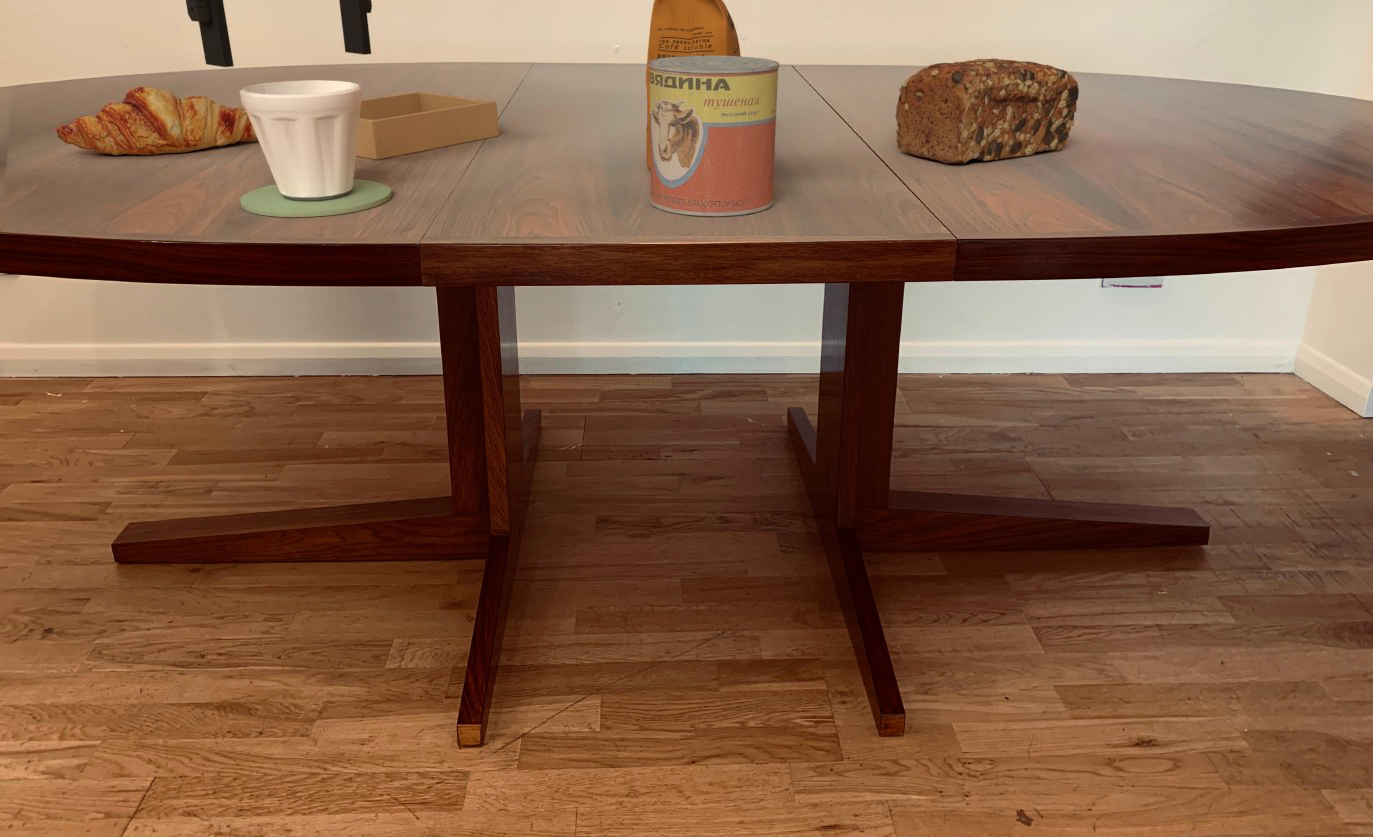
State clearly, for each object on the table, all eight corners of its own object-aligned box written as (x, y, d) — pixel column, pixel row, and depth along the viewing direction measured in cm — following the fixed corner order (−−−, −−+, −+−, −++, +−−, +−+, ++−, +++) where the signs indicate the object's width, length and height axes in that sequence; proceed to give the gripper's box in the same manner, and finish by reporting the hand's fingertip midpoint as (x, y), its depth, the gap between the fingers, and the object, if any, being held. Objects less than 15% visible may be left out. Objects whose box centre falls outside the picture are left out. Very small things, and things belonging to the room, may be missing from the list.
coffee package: (751, 154, 112) (758, -66, 102) (729, 178, 101) (735, -66, 91) (664, 150, 114) (663, -67, 104) (633, 172, 103) (629, -67, 94)
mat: (210, 202, 90) (209, 197, 90) (332, 177, 100) (332, 172, 100) (299, 225, 84) (298, 219, 83) (421, 196, 93) (420, 190, 93)
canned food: (623, 201, 92) (621, 62, 86) (704, 182, 99) (706, 52, 94) (719, 223, 85) (722, 73, 80) (798, 200, 93) (805, 62, 87)
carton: (299, 145, 115) (293, 109, 114) (422, 124, 129) (419, 91, 127) (376, 159, 108) (372, 121, 106) (499, 135, 122) (496, 101, 120)
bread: (957, 169, 106) (969, 68, 101) (887, 151, 114) (896, 58, 109) (1074, 151, 115) (1090, 58, 110) (1001, 136, 123) (1013, 49, 119)
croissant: (271, 165, 121) (257, 100, 121) (279, 137, 112) (263, 66, 112) (68, 179, 112) (53, 109, 111) (59, 149, 103) (42, 72, 103)
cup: (320, 212, 86) (303, 98, 82) (233, 199, 89) (212, 90, 85) (397, 188, 94) (385, 83, 90) (314, 177, 98) (299, 77, 94)
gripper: (115, -263, 66) (178, 75, 76) (412, -216, 85) (434, 51, 94) (59, -255, 70) (125, 67, 79) (355, -211, 89) (381, 45, 98)
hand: (293, 59), depth 87 cm, fingers open, 13 cm apart
